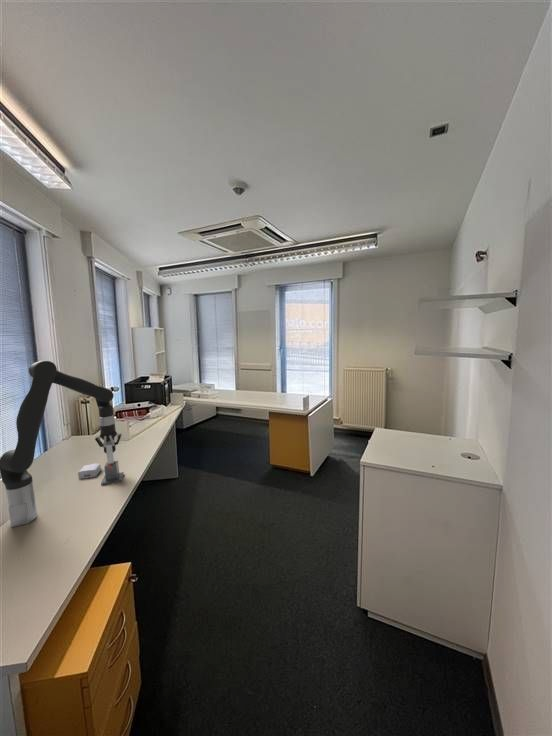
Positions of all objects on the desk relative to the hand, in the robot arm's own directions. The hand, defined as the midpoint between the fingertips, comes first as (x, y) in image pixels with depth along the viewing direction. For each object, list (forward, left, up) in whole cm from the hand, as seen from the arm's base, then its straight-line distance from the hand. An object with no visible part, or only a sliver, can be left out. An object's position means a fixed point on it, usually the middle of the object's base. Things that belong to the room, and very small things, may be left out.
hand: (110, 452), depth 166 cm
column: (0, 0, -10) cm, 10 cm away
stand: (0, 0, -17) cm, 17 cm away
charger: (+17, +14, -17) cm, 28 cm away
